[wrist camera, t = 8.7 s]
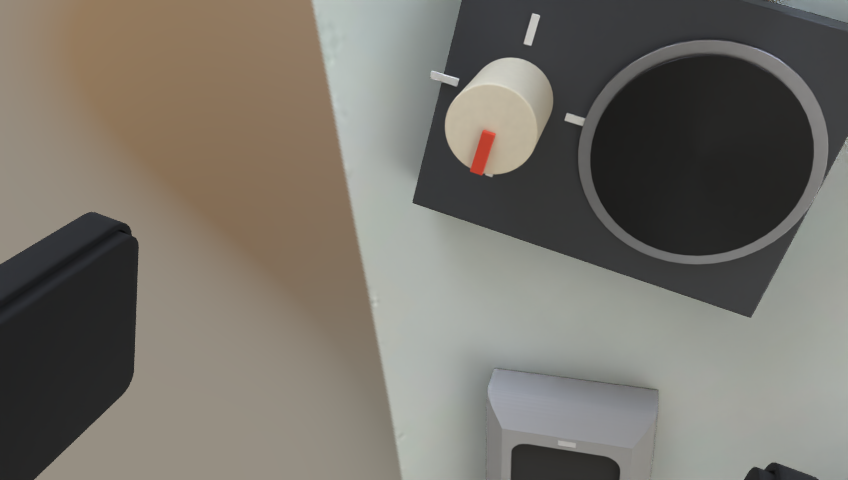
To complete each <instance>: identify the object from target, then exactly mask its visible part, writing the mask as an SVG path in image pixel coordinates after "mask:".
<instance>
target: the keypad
mask: <svg viewBox="0 0 848 480" xmlns="http://www.w3.org/2000/svg"><path fill="white" fill-rule="evenodd" d="M657 416H658V390H653V389H646V388H638V387H631V386H624V385H616V384H609V383H601V382H594V381H586V380H579V379H571V378H564V377H557V376H549V375H542V374H534V373H527V372H519V371H512V370H504V369H497V368H494V371H493V374H492V377H491V380H490V382H489V385H488V389H487V405H486V480H650V477H651V469H652V460H653V452H654V444H655V435H656V426H657Z"/></svg>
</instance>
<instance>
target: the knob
mask: <svg viewBox="0 0 848 480" xmlns="http://www.w3.org/2000/svg"><path fill="white" fill-rule="evenodd" d="M552 107H553V92H552V88H551V85H550V83H549V81H548V79H547V77H546V76H545V75H544V73H543V72H542V71H541V70H540V69H539V68H538V67H536V66H535V65H534V64H532V63H530V62H528V61H526V60H523V59H519V58H502V59H498V60H495V61H493V62H491V63H489V64H488V65H486V66H485V67H484V68H483V69H482V70H481V71H480V72H479V73H478V74H477V75H476V76H475V77H474V78H473V79H472V81H471V82H470V83H469V84H468V85H467V86H466V87H465V88H464V89H463V90H462V91H461V92H460V94H459V95H458V96H457V97H456V98H455V99H454V100H453V102H452V103H451V105H450V107H449V109H448V112H447V114H446V119H445V134H446V138H447V142H448V144H449V146H450V148H451V150H452V152H453V153H454V155H455V156H456V157H457V158H458V159H459V160H460V161H461V162H462V163H463V164H464V165H466V166H467V167H469V168H471V169H470V172H473V173H476V174H479V175H482V174H483V173H485V174H503V173H507V172H510V171H512V170H514V169H516V168H518V167H519V166H521V165H522V164H523V163H524V162H525V161H526V160H527V159H528V158H529V157H530V155H531V154H532V152H533V150H534V148H535V146H536V144H537V142H538V140H539V138H540V136H541V134H542V131H543V129H544V127H545V125H546V123H547V121H548V119H549V117H550V114H551V111H552Z"/></svg>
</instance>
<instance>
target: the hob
mask: <svg viewBox="0 0 848 480" xmlns="http://www.w3.org/2000/svg"><path fill="white" fill-rule="evenodd" d="M694 39H723V40H731V41H736V42H741V43H745V44H748V45H751V46H754V47H757V48H759V49H762V50H764V51H766V52H768V53H770V54H772V55H774V56H776V57H777V58H779V59H780V60H782V61H783V62H784V63H786V64H787V65H788V66H790V67H791V68H792V69H793V70H794V71H795V72H796V73H797V74H798V75H799V76H800V77H801V78H802V79H803V80H804V81H805V83H806V84H807V85H808V87H809V88H810V89H811V91H812V92H813V94H814V96H815V98H816V100H817V102H818V103H819V105H820V107H821V110H822V113H823V116H824V119H825V122H826V128H827V134H828V159H827V166H826V170H825V174H824V177H823V181H822V184H823V182H824V180H825V178H826V176H827V174H828V172H829V170H830V168H831V167H832V165H833V163H834V161H835V159H836V157H837V155H838V153H839V152H840V150H841V148H842V146H843V144H844V142H845V140H846V138H847V137H848V23H845V22H841V21H838V20H834V19H831V18H827V17H823V16H820V15H816V14H813V13H809V12H806V11H802V10H799V9H795V8H791V7H788V6H784V5H781V4H777V3H774V2H770V1H767V0H462V2H461V7H460V11H459V15H458V19H457V23H456V27H455V31H454V35H453V39H452V43H451V47H450V51H449V55H448V59H447V64H446V68H445V72H444V74H442V73H439V72H436V71H431V74H430V78H431V79H434V80H438V81H441V82H442V84H441V88H440V92H439V96H438V100H437V104H436V108H435V112H434V117H433V121H432V125H431V129H430V133H429V137H428V141H427V145H426V149H425V153H424V157H423V161H422V165H421V169H420V174H419V178H418V182H417V186H416V190H415V194H414V198H413V203H414V204H417V205H420V206H423V207H426V208H429V209H432V210H435V211H438V212H441V213H444V214H447V215H450V216H453V217H456V218H459V219H462V220H464V221H467V222H470V223H473V224H476V225H479V226H482V227H485V228H488V229H491V230H494V231H497V232H500V233H503V234H506V235H509V236H512V237H514V238H517V239H520V240H523V241H526V242H529V243H532V244H535V245H538V246H541V247H544V248H547V249H550V250H553V251H556V252H559V253H562V254H564V255H567V256H570V257H573V258H576V259H579V260H582V261H585V262H588V263H591V264H594V265H597V266H600V267H603V268H606V269H609V270H612V271H615V272H617V273H620V274H623V275H626V276H629V277H632V278H635V279H638V280H641V281H644V282H647V283H650V284H653V285H656V286H659V287H662V288H665V289H667V290H670V291H673V292H676V293H679V294H682V295H685V296H688V297H691V298H694V299H697V300H700V301H703V302H706V303H709V304H712V305H715V306H717V307H720V308H723V309H726V310H729V311H732V312H735V313H738V314H741V315H744V316H747V317H750V318H751V317H752V315H753V313H754V311H755V309H756V307H757V306H758V304H759V302H760V300H761V298H762V296H763V294H764V292H765V291H766V289H767V287H768V285H769V283H770V281H771V279H772V277H773V276H774V274H775V272H776V270H777V268H778V266H779V264H780V262H781V261H782V259H783V257H784V255H785V253H786V251H787V249H788V247H789V246H790V244H791V242H792V240H793V238H794V236H795V234H796V232H797V230H798V229H799V227H800V225H801V223H802V221H803V219H804V217H805V215H806V214H807V212H808V210H809V208H810V206H811V205H810V206H809V208H808V210H807V211H806V212H805V213H804V214H803V216H802V217H801V218H800V219H799V221H798V222H797V223H796V224H795V225H794V226H792V227H791V228H790V229H789V230H788V231H787V232H786V233H785V234H783V235H782V236H781V237H779V238H778V239H777V240H775V241H774V242H772V243H771V244H769V245H767V246H765V247H764V248H762V249H760V250H758V251H756V252H753V253H751V254H749V255H746V256H743V257H740V258H737V259H733V260H730V261H725V262H719V263H712V264H682V263H675V262H669V261H665V260H661V259H658V258H654V257H652V256H649V255H647V254H644V253H642V252H640V251H638V250H636V249H634V248H632V247H630V246H629V245H627V244H626V243H624V242H623V241H621V240H620V239H619V238H617V237H616V236H615V235H614V234H613V233H612V232H611V231H610V230H608V229H607V228H606V227H605V225H604V224H603V223H602V222H601V221H600V219H599V218H598V217H597V216H596V214H595V212H594V211H593V209H592V208H591V206H590V204H589V202H588V200H587V198H586V195H585V193H584V190H583V187H582V184H581V180H580V175H579V168H578V148H579V140H580V135H581V131H582V128H583V124H584V121H585V119H586V116H587V114H588V112H589V109H590V107H591V106H592V104H593V102H594V101H595V99H596V97H597V96H598V94H599V93H600V92H601V90H602V89H603V88H604V87H605V85H606V84H607V83H608V82H609V81H610V80H611V79H612V78H613V77H614V76H615V75H616V74H617V73H618V72H619V71H621V70H622V69H623V68H624V67H626V66H627V65H628V64H630V63H631V62H633V61H634V60H636V59H638V58H639V57H641V56H643V55H645V54H646V53H649V52H651V51H653V50H656V49H658V48H660V47H663V46H666V45H670V44H673V43H677V42H682V41H688V40H694ZM502 58H519V59H523V60H526V61H528V62H530V63H532V64H534V65H535V66H536V67H538V68H539V69H540V70H541V71H542V72H543V73H544V75H545V76H546V77H547V79H548V81H549V83H550V85H551V88H552V92H553V107H552V111H551V114H550V117H549V119H548V121H547V123H546V125H545V127H544V129H543V131H542V134H541V136H540V138H539V140H538V142H537V144H536V146H535V148H534V150H533V152H532V154H531V155H530V157H529V158H528V159H527V160H526V161H525V162H524V163H523V164H522V165H521V166H519V167H518V168H516V169H514V170H512V171H510V172H507V173H503V174H485V173H483V174H482V175H479V174H476V173H473V172H470V169H471V168H469V167H467V166H466V165H464V164H463V163H462V162H461V161H460V160H459V159H458V158H457V157H456V156H455V155H454V153H453V152H452V150H451V148H450V146H449V144H448V142H447V138H446V134H445V119H446V114H447V112H448V109H449V107H450V105H451V103H452V102H453V100H454V99H455V98H456V97H457V96H458V95H459V94H460V92H461V91H462V90H463V89H464V88H465V87H466V86H467V85H468V84H469V83H470V82H471V81H472V79H473V78H474V77H475V76H476V75H477V74H478V73H479V72H480V71H481V70H482V69H483V68H484V67H485V66H486V65H488V64H489V63H491V62H493V61H495V60H498V59H502ZM822 184H821V185H822ZM820 187H821V186H820ZM819 189H820V188H819ZM818 191H819V190H818ZM817 193H818V192H817ZM814 199H815V198H814ZM811 204H812V203H811Z"/></svg>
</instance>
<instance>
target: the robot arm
mask: <svg viewBox="0 0 848 480" xmlns="http://www.w3.org/2000/svg"><path fill="white" fill-rule="evenodd" d="M138 248H139V247H138V241H137V239H136V238H135V237H133V236H132V234H131V230H130V227H129V226H128V225H127V224H125V223H122V222H120V221H117V220H114V219H111V218H109V217H106V216H103V215H101V214H98V213H95V212H89V213H86V214H84V215H82V216H81V217H79V218H78V219H76V220H74V221H72V222H71V223H69V224H67V225H66V226H64V227H62V228H61V229H59V230H57V231H56V232H54V233H52V234H51V235H49V236H47V237H46V238H44V239H42V240H41V241H39V242H37V243H35V244H34V245H32V246H30V247H29V248H27V249H25V250H24V251H22V252H20V253H19V254H17V255H15V256H14V257H12V258H11V259H9V260H7V261H6V262H4V263H2V264H0V480H34V479H35V478H36V477H37V476H38V475H39V474H40V473H41V472H42V471H43V470H44V469H45V468H46V467H47V466H49V465H50V464H51V463H52V462H53V461H54V460H55V459H56V458H57V457H58V456H59V455H60V454H61V453H62V452H63V451H64V450H65V449H66V448H67V447H68V446H69V445H71V444H72V443H73V442H74V441H75V440H76V439H77V438H78V437H79V436H80V435H81V434H82V433H83V432H84V431H85V430H86V429H87V428H88V427H89V426H90V425H91V424H92V423H93V422H95V420H97V419H98V418H99V417H100V416H101V415H102V414H103V413H104V412H105V411H106V410H107V409H108V408H109V407H110V406H111V405H112V404H113V403H114V402H115V401H116V400H117V399H119V397H121V396H122V394H123V393H124V392H125V391H126V389H127V388H128V386H129V385H130V382H131V380H132V377H133V373H134V353H135V325H136V301H137V273H138ZM744 480H818V479H817V478H816V477H813V476H810V475H808V474H805V473H802V472H799V471H797V470H794V469H791V468H789V467H786V466H783V465H780V464H778V463H771V464H769V465H768V466H767V467H766V468H765V470H763V469H760V468H757V467H753V468H752V469H751V470H750V471H749V473H748V474H747V476H746V477H745V479H744Z"/></svg>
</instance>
